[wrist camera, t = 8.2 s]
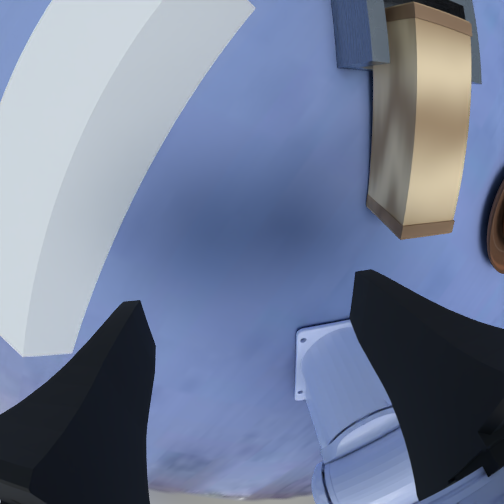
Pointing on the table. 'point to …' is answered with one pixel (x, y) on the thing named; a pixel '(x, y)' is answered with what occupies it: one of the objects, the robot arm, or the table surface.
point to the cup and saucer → (496, 231)
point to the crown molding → (89, 145)
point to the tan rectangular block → (420, 121)
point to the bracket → (375, 31)
